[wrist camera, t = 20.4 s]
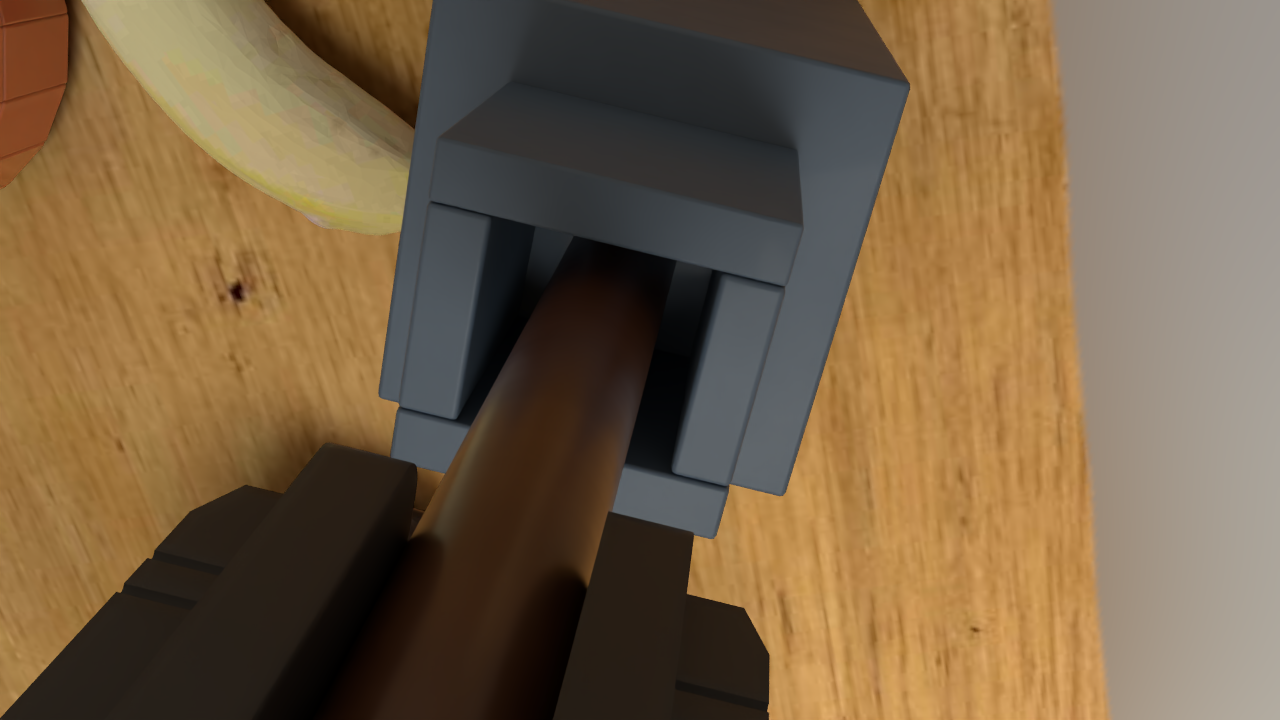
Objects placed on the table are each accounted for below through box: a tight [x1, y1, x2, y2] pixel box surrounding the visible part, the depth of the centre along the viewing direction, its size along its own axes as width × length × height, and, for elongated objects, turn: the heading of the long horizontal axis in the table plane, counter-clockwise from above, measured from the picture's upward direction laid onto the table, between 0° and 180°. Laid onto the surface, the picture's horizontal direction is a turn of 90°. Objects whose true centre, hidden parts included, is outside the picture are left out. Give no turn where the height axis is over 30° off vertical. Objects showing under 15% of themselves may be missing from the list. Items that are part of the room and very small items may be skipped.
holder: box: [378, 0, 910, 539], centre depth 22 cm, size 7×7×16 cm
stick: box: [312, 236, 677, 720], centre depth 12 cm, size 2×2×14 cm
